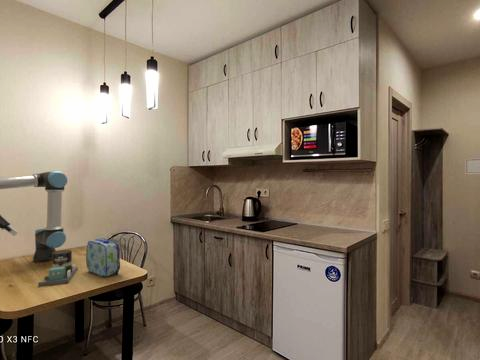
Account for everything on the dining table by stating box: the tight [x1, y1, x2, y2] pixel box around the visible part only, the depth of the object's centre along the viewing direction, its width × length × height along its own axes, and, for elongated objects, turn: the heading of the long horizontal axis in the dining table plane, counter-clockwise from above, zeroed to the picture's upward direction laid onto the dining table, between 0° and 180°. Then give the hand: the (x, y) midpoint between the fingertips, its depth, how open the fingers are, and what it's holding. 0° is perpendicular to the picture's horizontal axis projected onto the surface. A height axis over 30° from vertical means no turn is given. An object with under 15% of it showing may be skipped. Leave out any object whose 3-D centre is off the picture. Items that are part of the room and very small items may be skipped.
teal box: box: [48, 266, 66, 281], centre depth 163 cm, size 6×7×8 cm
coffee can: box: [51, 249, 73, 274], centre depth 175 cm, size 10×10×14 cm
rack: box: [37, 264, 78, 287], centre depth 169 cm, size 25×14×5 cm, turn 19°
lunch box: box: [85, 238, 121, 278], centre depth 176 cm, size 26×11×21 cm, turn 53°
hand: (16, 234), depth 172 cm, fingers closed
